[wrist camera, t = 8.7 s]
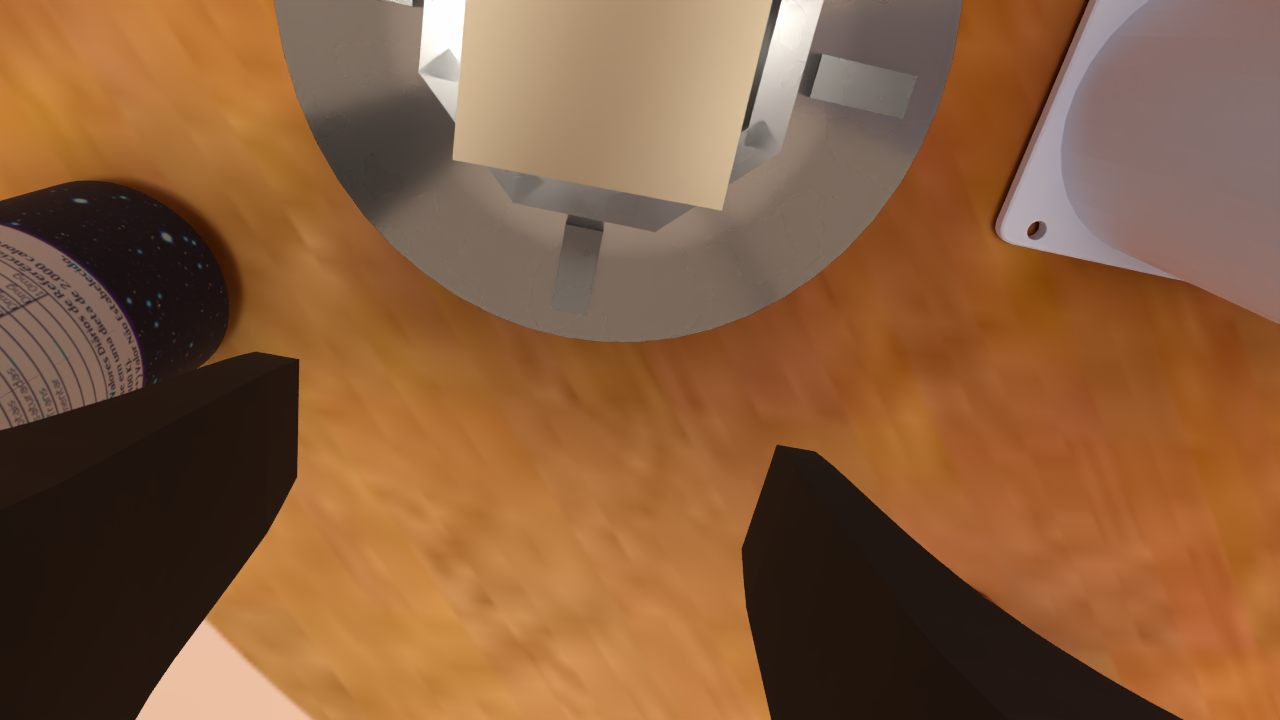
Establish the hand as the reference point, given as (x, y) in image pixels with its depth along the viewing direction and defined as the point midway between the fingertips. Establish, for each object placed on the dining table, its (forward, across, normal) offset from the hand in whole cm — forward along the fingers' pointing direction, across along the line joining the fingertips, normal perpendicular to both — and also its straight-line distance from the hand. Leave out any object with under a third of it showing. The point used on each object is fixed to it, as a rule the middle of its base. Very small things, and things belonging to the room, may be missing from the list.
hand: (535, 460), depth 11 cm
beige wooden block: (+9, 0, -6) cm, 11 cm away
